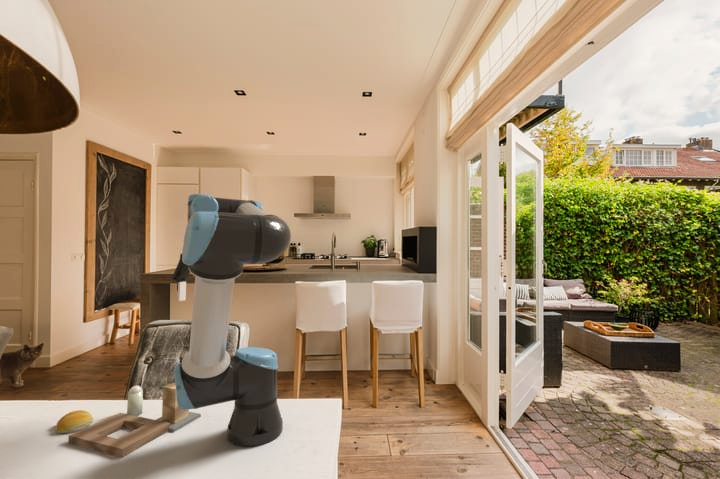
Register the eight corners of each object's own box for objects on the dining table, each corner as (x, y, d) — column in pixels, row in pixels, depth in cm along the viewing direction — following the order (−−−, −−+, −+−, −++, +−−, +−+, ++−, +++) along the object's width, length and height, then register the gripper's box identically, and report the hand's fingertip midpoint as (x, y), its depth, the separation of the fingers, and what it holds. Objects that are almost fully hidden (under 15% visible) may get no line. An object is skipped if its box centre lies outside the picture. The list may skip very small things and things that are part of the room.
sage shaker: (145, 412, 108) (146, 384, 109) (133, 418, 104) (134, 389, 105) (135, 410, 109) (136, 382, 110) (123, 416, 106) (125, 387, 106)
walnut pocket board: (170, 430, 97) (170, 423, 97) (122, 457, 84) (122, 449, 84) (119, 419, 103) (120, 412, 104) (68, 443, 90) (68, 435, 90)
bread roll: (56, 438, 93) (56, 423, 93) (56, 426, 100) (57, 412, 100) (94, 428, 99) (94, 414, 99) (91, 417, 105) (92, 404, 106)
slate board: (200, 416, 106) (200, 413, 106) (173, 432, 96) (174, 429, 96) (175, 411, 109) (176, 409, 109) (147, 426, 99) (147, 423, 99)
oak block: (188, 416, 104) (189, 383, 105) (174, 423, 99) (175, 389, 100) (175, 413, 106) (176, 381, 106) (161, 421, 101) (163, 387, 101)
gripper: (236, 239, 116) (234, 301, 115) (179, 240, 124) (177, 298, 123) (220, 238, 109) (219, 304, 108) (162, 239, 117) (159, 301, 116)
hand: (197, 301), depth 115 cm, fingers open, 13 cm apart
